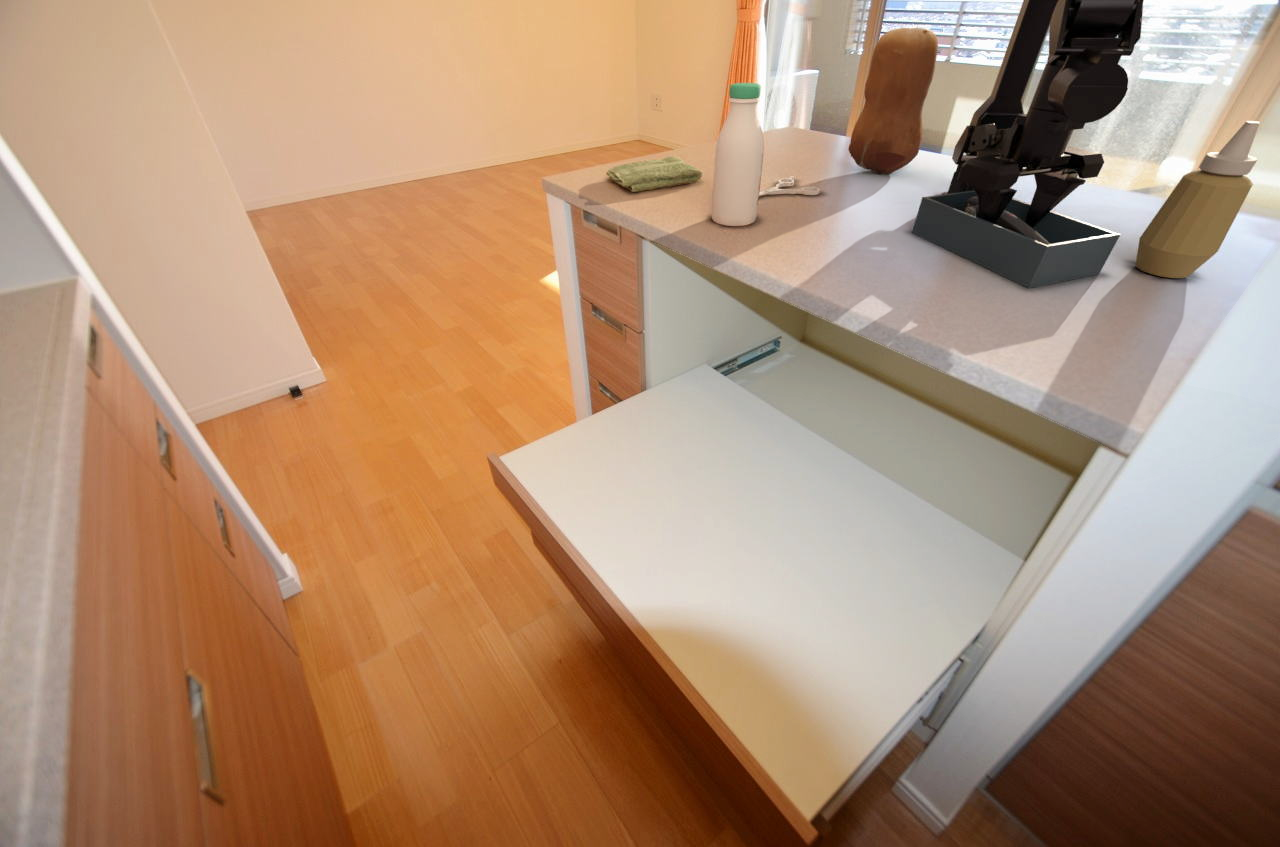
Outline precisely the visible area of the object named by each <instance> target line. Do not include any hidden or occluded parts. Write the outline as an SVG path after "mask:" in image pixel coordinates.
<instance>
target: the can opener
mask: <svg viewBox="0 0 1280 847" xmlns="http://www.w3.org/2000/svg"><path fill="white" fill-rule="evenodd" d="M962 209H963V212H965V213H968V214H970V215H973V216H975V217H978V218H979V205H978V197H973V198H970V199H969V200H967V201H966V202H965V204H964V206H963V208H962ZM996 225H998V226H1001V227H1003V228H1006V229H1008V230H1011V231H1014V232H1016V233H1019V234H1021V235H1024V236H1026V237H1029V238H1031V239H1034V240H1036V241H1039V242H1041V243H1044V244H1047V245H1048V244H1050V243H1049V242H1048V241H1047V240H1046V239H1045V238H1043V237H1042V236H1041V235H1040V234H1039V233H1038V232H1036V231H1035V230H1034V229H1033V228H1031V227H1030V226H1029V225H1027V224H1026V223H1025V222H1023V221H1022V220H1021V219H1019V218H1018V217H1016V216H1015V215H1013V214H1011V213H1010V212H1008V211H1005V210H1004V212H1003V213H1002V215H1001V216H1000V218H999V219H998V221H997V222H996Z"/></svg>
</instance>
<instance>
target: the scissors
mask: <svg viewBox="0 0 1280 847" xmlns="http://www.w3.org/2000/svg"><path fill="white" fill-rule="evenodd" d="M794 184H795V176H794V175H790V176H789V177H788V178H787V177H785V178H784V177H783V178H779V179H778V180H777V183H776V184H775V186H772V187H768V188H767V189H765V190H762V191H761V190H760V191H759V197H761V196H764V195H766V196H768V195H781V194H788V195H795V194H799V195H805V196H815V195H819V194H820V192H821V188H819V187H815V186H803V187H801V188H797V189H789V188H787V189H785V188H783V187H793V186H794Z"/></svg>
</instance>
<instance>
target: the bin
mask: <svg viewBox="0 0 1280 847" xmlns="http://www.w3.org/2000/svg"><path fill="white" fill-rule="evenodd" d="M973 197H978V196H977V194H976V192H975V190H973V191H965V192H958V193H950V194H943V195H941V194H935V195H928V196H922V197H921V200H920V204H919V207H918V211H917V214H916V217H915V221H914V224H913V227H912V231H911V233H912V234H914V235H916V236H918V237H920V238H922V239H925V240H926V241H928V242H930V243H933V244H935V245H936V246H939V247H941V248H943V249H945V250H946V251H947V250H948V251H949V252H952V253H953V254H956V255H958V256H960V257H962V258H964V259H965V260H968V261H970V262H972V263H974V264H976V265H979V266H981V267H983V268H985V269H987V270H989V271H991V272H993V273H995V274H997V275H999V276H1002V277H1004V278H1006V279H1008V280H1010V281H1013V283H1016V284H1018V285H1021V286H1023V287H1025V288H1027V289H1032V288H1036V287H1037V288H1038V287H1041V286H1047V285H1052V284H1057V283H1062V282H1068V281H1069V282H1070V281H1073V280H1078V279H1084V278H1090V277H1094V276H1099V275H1100V274H1101V272H1102V270H1103V268H1104V266H1105V264H1106V262H1107V261H1108V259H1109V257H1110V255H1111V253H1112V252H1113V250H1114V248H1115V246H1116V244H1117V243H1118V241H1119V239H1120V237H1121V234H1120V233H1117V232H1115V231H1112V230H1109V229H1107V228H1102V227H1101V226H1097V225H1094V224H1091V223H1088V222H1086V221H1082V220H1079V219H1076V218H1074V217H1070V216H1068V215H1065V214H1061V213H1058V212H1055V211H1053V210H1051V211H1050V212H1049V213H1048V214H1047V215H1046V216H1045V217H1044V218H1043V219H1042V220H1040V221H1039V222H1038V223H1037V224H1036V225H1035V226H1034V227H1033V229H1034V230H1035V231H1036V232H1038V233H1039V234H1040V235H1041V236H1042V237H1043V238H1045V239H1046V240H1047V241H1048V242H1049V243H1050V244H1048V245H1047V244H1044V243H1041V242H1039V241H1036V240H1034V239H1031V238H1029V237H1026V236H1024V235H1021V234H1019V233H1016V232H1014V231H1011V230H1008V229H1006V228H1003V227H1001V226H998V225H996V224H993V223H991V222H988V221H986V220H983V219H981V218H978V217H975V216H973V215H970V214H968V213H965V212H963V209H962V208H963V206H964V204H965V202H966V201H967V200H969V199H970V198H973ZM1030 205H1031V203H1029V202H1025V201H1023V200H1020V199H1018V198H1014V197H1013V198H1012V200H1011V201H1010V203H1009V204H1008V205H1007V207H1006V209H1005V211H1008V212H1010V213H1011V214H1013V215H1015V216H1016V217H1018V218H1019V219H1021V220H1022V221H1023V222H1025V220H1026V216H1027V213H1028V211H1029V208H1030Z"/></svg>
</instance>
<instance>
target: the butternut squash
mask: <svg viewBox="0 0 1280 847" xmlns="http://www.w3.org/2000/svg"><path fill="white" fill-rule="evenodd" d="M938 49H939V41H938V37H937V35H936V34H935V33H934V32H933V31H932V30H930V29H926V28H924V27H923V28H922V27H911V28H910V27H901V28H894V29H891V30H888V31H886V32H885V33H883V34H882V35H881V36H880V37H879V39H878V41H877V43H876V45H875V47H874V49H873V52H872V56H871V60H870V64H869V71H868V76H867V79H866V82H865V84H864V98H865V103H864V105H863V107H862V111H861V112H860V114H859V116H858V118H857V120H856V122H855V124H854V127H853V130H852V132H851V137H850V143H849V145H848V149H847V150H848V153H849V154H850V157H851V158H852V159H853V161H854V162H855V164H856V165H857V166H858V167H860V168H862V169H864V170H866V171H867V170H868V171H871V172H872V173H874V174H878V175H892V174H893V173H894V172H897V171H899V170H901V169H902V168H904V167H905V166H907V165H909V164H910V163H911V162H913V160H915V158H916V157H917V156H918V154H919V152H920V149H921V145H922V143H923V139H924V138H923V137H924V126H923V108H924V104H925V101H926V98H927V95H928V93H929V90H930V87H931V84H932V81H933V78H934V74H935V70H936V62H937V57H938V51H939V50H938Z"/></svg>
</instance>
